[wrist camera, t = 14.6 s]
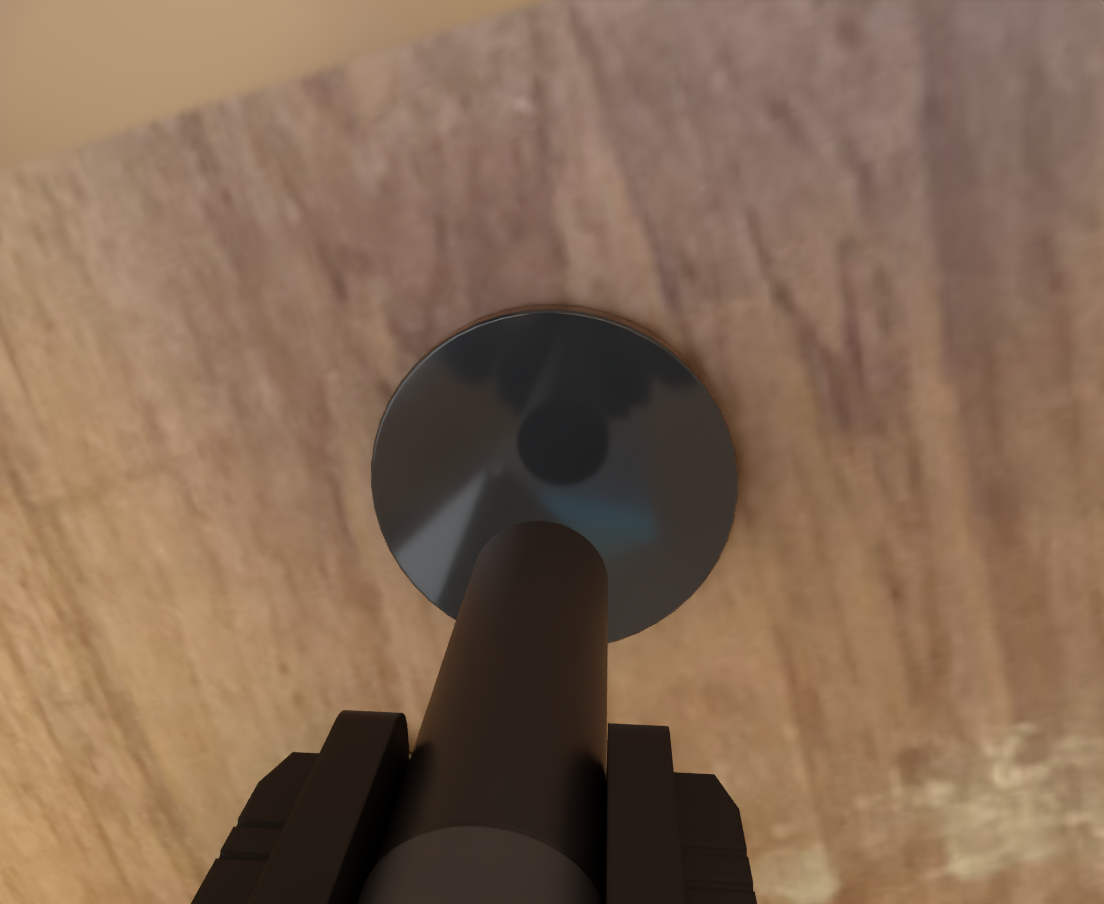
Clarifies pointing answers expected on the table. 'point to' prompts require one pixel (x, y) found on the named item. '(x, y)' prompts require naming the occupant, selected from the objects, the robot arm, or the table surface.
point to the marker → (511, 738)
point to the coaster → (557, 456)
